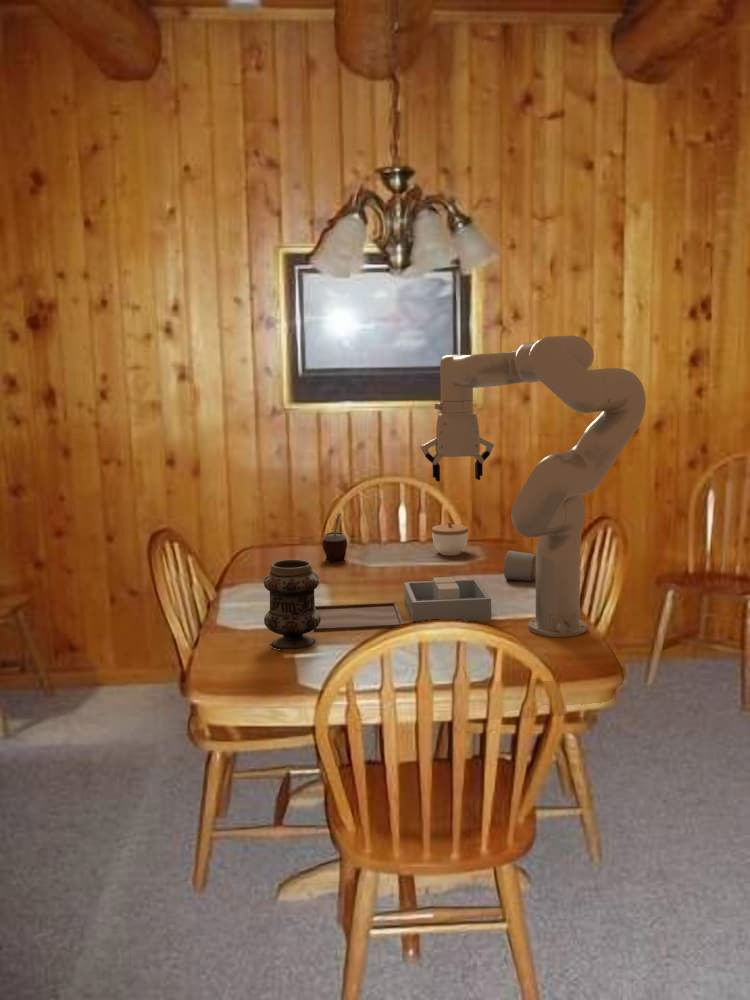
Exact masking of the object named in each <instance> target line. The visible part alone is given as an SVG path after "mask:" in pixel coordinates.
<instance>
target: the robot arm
mask: <svg viewBox="0 0 750 1000" xmlns="http://www.w3.org/2000/svg"><path fill="white" fill-rule="evenodd" d="M594 356H595V355H594V349H593V347H592V345H591V343H590V342H589V341H588V340H586V338H583V337H581V336H577V335H557V336H555V335H554V336H553V335H552V336H545V337H543V338H540V339H538V340H537V341H533V342H527V343H524V344H521V345H520V347H519V348H518V349H517V350H511V351H505V352H496V353H477V354H476V353H475V354H449V355H444V356H442V358H441V359H440V364H439V367H440V372H439V373H440V374H439V375H440V402H437V403H434V410H438V411H440V413H438V414H437V420H436V429H435V437H434V438H433V439H431V440H429V441H427V442H426V443H424V444H422V445H420V449H421V451H422V453H423V456H424V457H425V458H426V459H427V460H428V461H429V462H431V464H432V478H434V479H435V481H436V482H440V481H441V465H440V463H439V462H440V461H441V460H442V459H443V458H456V457H457V458H458V457H459V458H460V457H462V458H463V457H473V458H475V460H476V461H475V463H474V479H475V480H477V481H480V480H481V477H482V476H483V463H484V462H485V461H486V460H487V459H488V458H489V457H490V455H491V452H492V451H493V449H494V447H495V444H494V443H492V442H490V441H488V440H486V439H484V438H482V437H480V427H479V421H478V419H479V418H478V416H477V415H478V414H477V413H475V412H474V389H477V388H488V387H501V386H508V385H514V384H516V385H517V384H521V383H527V384H530V383H531V384H532V383H537V382H541V383H542V384H544V385H545V387H546V388H548V389H549V390H550V391H551V392H552V393H553V394H554V395H556V397H558V399H560V400H561V401H562V402H563V404H565V405H566V406H567V407H568V408H569V409H572V410H573V411H575V412H578V413H581V414H593V413H599V412H600V414H599V415H598V416H597V417H596V418H595V419H593V421H592V422H591V423H590V424H589V425H588V426H587V427H586V429H585V430H584V432H583V434H582V436H580V439H578V441H577V442H576V444H575V445H574V446H573V447H572V448H571V449H568V450H566V451H562V452H556V453H555V452H554V453H552V454H549V455H547V456H545V457H543V458H542V460H540V461H539V462H538V463H537V464H536V465H535V467H534V468H533V470H532V472H531V473H530V474H529V476H528V478H527V479H526V481H525V483H524V485H523V486H522V488H521V489H520V491H519V493H518V494H517V496H516V498H515V499H514V502H513V504H512V507H511V511H510V513H511V517H510V518H511V522H512V526H513V527H514V529H515V530H516V532H517V533H519V534H520V535H522V536H524V537H527V538H537V537H538V539H537V543H536V547H535V555H536V580H535V618H532V619H531V620H529V622H528V629H529V630H530V631H531V632H533V633H535V634H537V635H540V636H546V637H552V638H553V637H555V638H556V637H557V638H564V637H565V638H566V637H568V636H569V637H574V636H575V635H576V636H579V635H582V634H583V633H585V632H586V631H587V628H588V627H587V623H586V622H585V621H584V620H582V619H580V617H581V616H580V611H581V610H580V609H581V608H580V601H581V598H580V597H581V593H580V592H581V591H580V590H581V550H582V549H581V547H582V546H581V545H582V535H583V530H584V529H583V528H584V525H585V518H586V502H585V500H584V498H583V497H582V496H583V495H587V494H591V493H592V492H594V491H595V490H596V489H598V488H599V486H600V485H601V484H602V482H603V481H604V479H605V477H606V476H607V474H608V473H609V471H610V470H611V469H612V467H613V465H614V463H616V461H617V459H618V458H619V456H620V455H621V454H622V452H623V450H624V449H625V448H626V446H627V444H628V443H629V442H630V440H631V439H632V438H633V436H634V434H635V433H636V431H637V430H638V429H639V426H640V425H641V422H642V421H643V418H644V415H645V410H646V403H647V400H646V393H645V392H646V391H645V389H644V385H643V382H642V381H641V380H640V378H639V377H638V376H637V375H636V374H635V373H634V372H632V371H630V370H628V369H625V368H618V367H617V368H616V367H612V368H610V367H609V368H596V369H590V367H591V366H592V365H593V362H594ZM481 445H482V446H485V449H484V451H483V452H482V453H481V454H480V451H481ZM434 446H435V447H434ZM432 447H434V448H435V454H434V456H433V455H432V454H431V453H430V451H429V449H430V448H432Z"/></svg>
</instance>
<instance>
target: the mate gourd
mask: <svg viewBox="0 0 750 1000" xmlns="http://www.w3.org/2000/svg"><path fill="white" fill-rule="evenodd" d="M341 515H342V513H339V514H338V515H337V517H336V519H335V522H334V523H335V526H334V532H328V533H326V534H325V535H324V536H323V539H322V549H323V551H324V554H325V556H326V557H325V561H326V560H330V561H329V562H330V563H329V564H333V563H332V562H334V561H336V562H337V561H345V562H346V559H345V557H346V551H347V548H348V541H347V537H346V535H345V533H343V532H339V531H338V530H337V529H338V523H339V518H340V517H341ZM337 531H338V532H337ZM334 563H335V562H334Z"/></svg>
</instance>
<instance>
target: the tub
mask: <svg viewBox="0 0 750 1000" xmlns="http://www.w3.org/2000/svg"><path fill="white" fill-rule="evenodd" d="M454 580H455V582H456V583H457V585H458V587H459V599H449V600H433V580H424V581H405V582H403V584H404V585H403V586H404V587H403V590H404V592H403V593H404V598H403V599H404V602H405V605H406V607H407V610H408V612H409V615H410V618H411V619H412V620H411V621H412V622H425V621H424V620H430V621H432V620H431V619H451V620H461V619H463V620H464V619H465V620H468V621H467V622H474V621H475V620H477V621H479V622H480V621H492V598H491V596H490V595H489V594H488V592H487V591H486V590H485V588H484V586H482V584H481V583H480V581H479V580H478V579H477V578H476V579H475V578H472V579H471V578H470V579H469V578H467V579H454ZM477 621H475V622H477Z"/></svg>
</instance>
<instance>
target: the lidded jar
mask: <svg viewBox="0 0 750 1000" xmlns="http://www.w3.org/2000/svg"><path fill="white" fill-rule="evenodd" d="M431 532H432V533H431V534H432V543H433V546H434V548H435V549H436V550H437V552H439V553H440V555H441V556H459V555H460V554H461V553H462V552H463V551H464V549H465V548H466V546H467V543H468V537H469V536H468V535H469V533H468V532H469V527H468V526H466V525H464V524H463V525H462V524H455V523H452V521H448V522H447V524H438V525H437V524H436V525H435V526H434V525H433V526H432V528H431Z"/></svg>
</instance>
